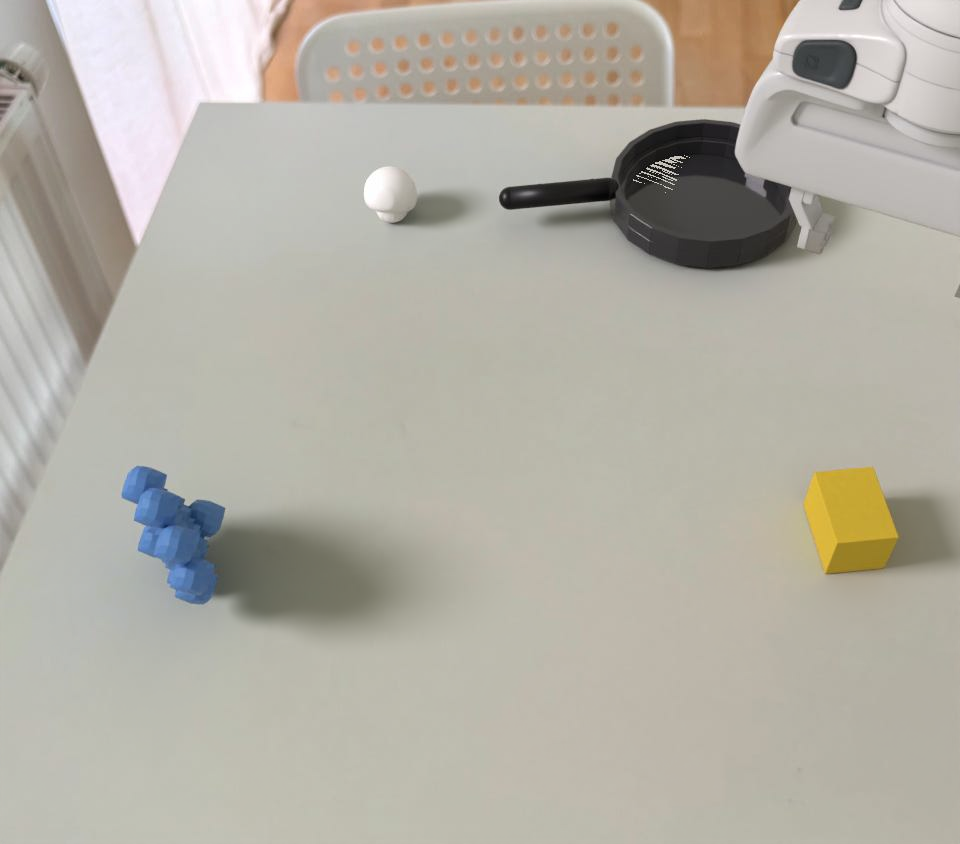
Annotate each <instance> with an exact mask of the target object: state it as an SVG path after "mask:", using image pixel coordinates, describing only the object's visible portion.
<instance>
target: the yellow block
mask: <svg viewBox="0 0 960 844" xmlns="http://www.w3.org/2000/svg"><path fill="white" fill-rule="evenodd" d="M803 508H804V511H805V514H806V517H807V520H808V524H809V527H810V531H811V533H812V534H811V535H812V536H813V540H814V543H815V547H816V549H817V553H818V556H819V559H820V561H821V566H822V569H823V572H824V575H826V574H827V575H830V574H838V573H847V572H848V573H849V572H859V571H869V570H879V569H880V570H881V569H885V567H886V565H887V563H888V561H889V559H890V557H891V555H892V553H893V551H894V549H895V546H896V544H897V543H898V540H899V538H900V536H899V534H898V531H897V528H896V525H895V522H894V520H893V518H892V514H891V512H890V509H889V507H888V504H887V501H886V498H885V495H884V493H883V490H882V487H881V484H880V482H879V479H878V476H877V473H876V471H875V468H874V466H866V467H865V466H864V467H855V468H853V467H852V468H844V469H834V470H824V471H823V470H822V471H814V472H813V474H812V478H811V481H810V483H809V487H808V489H807V492H806V496H805V498H804V501H803Z"/></svg>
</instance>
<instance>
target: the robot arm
mask: <svg viewBox="0 0 960 844" xmlns="http://www.w3.org/2000/svg"><path fill="white" fill-rule="evenodd" d="M773 47H774V48H773V52H772V58H771V60H770V61H769V63H768V65H767V66H766V68H765V69H764V70H763V72H762V74H761V76H759V78H758V80H757V82H756V83H755V85H754V86H753V88H752V90H751V92H750V95H749V97H748V100H747V103H746V106H745V109H744V111H743V114H742V118H741V121H740V124H741V125H740V129H739V132H738V137H737V141H736V147H735V156H736V158H737V160H738V162H739V164H740V166H741V167H742V169H743V170H744V172H745V173H747V174H749V175H752V176H756V177H759V178H763V179H766V180H770V181H773V182H776V183H780V184H783V185H786V186H790V187H791V192H790V196H789V201H790V203H791V206H792V208H793V211H794V213H795V215H796V218H797V222H798V225H799V226H800V227H801V228H800V232H799V236H798V241H797V245H796V247H797V248H798V249H801V250H804V251H807V252H810V253H814V254H816V255H822V253H823V251H824V248H826V247H827V244H828V243H829V240H830V237H831V234H832V228H833V227H834V223H835V220H836V216H835V215H833V214H830V213H826V212H824V210H823V207H822V204H821V202H820V197H824V198H827V199H829V200H834V201H837V202H841V203H843V204H846V205H850V206H855V207H857V208H860V209H863V210H866V211H867V210H868V211H871V212H874V213H877V214H880V215H884V216H887V217H891V218H894V219H898V220H901V221H904V222H907V223H911V224H914V225H917V226H921V227H925V228H928V229H931V230H934V231H938V232H941V233H945V234H948V235H952V236H954V237H957V238H958V237H959V238H960V0H799V1H798V2H797V3H796V5H795V6H794V7H793V9H792V10H791V12H790V13H789V15H788V16H787V18H786V20H785V21H784V24H783V25H782V27H781V29H780V31H779V33H778V36H777V37H776V41H775V42H774V45H773ZM819 196H820V197H819ZM954 297H956V298H957V299H960V283H959V285H958V287H957V289H956V292H955V294H954Z"/></svg>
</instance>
